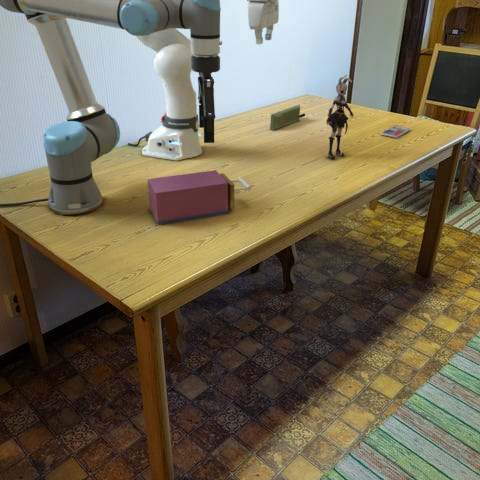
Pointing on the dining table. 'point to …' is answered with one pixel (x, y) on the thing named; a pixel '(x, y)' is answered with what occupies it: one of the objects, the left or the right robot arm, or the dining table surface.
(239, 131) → the dining table surface
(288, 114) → the handheld radio
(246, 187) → the drawer
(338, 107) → the figurine
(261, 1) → the right robot arm
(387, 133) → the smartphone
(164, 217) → the magenta elongated box
